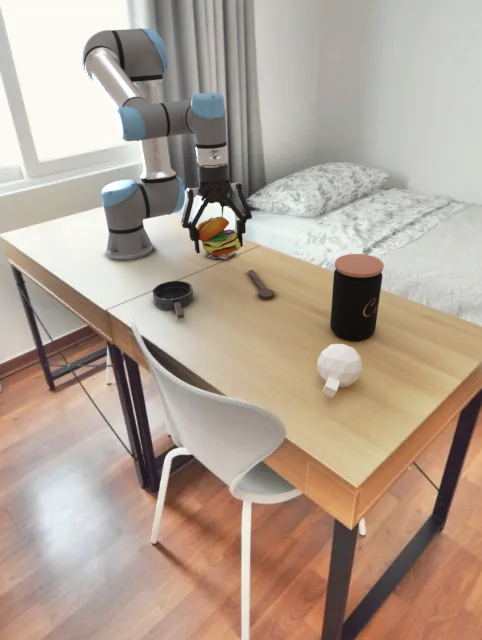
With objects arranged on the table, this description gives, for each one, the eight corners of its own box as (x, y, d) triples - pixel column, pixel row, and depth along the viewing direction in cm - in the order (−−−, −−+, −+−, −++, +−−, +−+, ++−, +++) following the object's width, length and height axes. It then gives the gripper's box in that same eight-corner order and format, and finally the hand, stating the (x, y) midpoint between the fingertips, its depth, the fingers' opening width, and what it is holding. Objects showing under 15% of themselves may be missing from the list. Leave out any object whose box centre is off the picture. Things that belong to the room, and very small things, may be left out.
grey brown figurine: (216, 247, 160) (211, 189, 149) (239, 255, 153) (236, 195, 142) (198, 254, 155) (192, 195, 144) (221, 263, 148) (216, 202, 137)
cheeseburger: (237, 258, 119) (225, 221, 114) (199, 265, 122) (187, 230, 117) (245, 242, 127) (234, 207, 122) (209, 249, 130) (198, 216, 125)
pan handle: (174, 311, 124) (173, 301, 122) (180, 310, 124) (179, 300, 122) (178, 325, 118) (177, 315, 116) (185, 324, 118) (183, 314, 116)
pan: (152, 295, 132) (150, 284, 130) (189, 289, 134) (188, 278, 132) (156, 314, 123) (154, 302, 121) (197, 307, 125) (196, 295, 123)
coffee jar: (365, 348, 106) (374, 278, 96) (322, 335, 111) (327, 267, 101) (380, 326, 113) (390, 258, 104) (339, 315, 118) (345, 250, 109)
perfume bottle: (318, 355, 101) (302, 394, 93) (332, 327, 95) (316, 366, 86) (355, 372, 100) (342, 413, 91) (372, 345, 93) (359, 387, 85)
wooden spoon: (243, 274, 141) (243, 271, 140) (257, 272, 142) (257, 268, 141) (261, 301, 126) (261, 297, 126) (276, 298, 127) (276, 294, 127)
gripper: (166, 173, 107) (177, 260, 118) (263, 162, 112) (265, 246, 123) (162, 166, 113) (173, 249, 124) (254, 155, 118) (256, 237, 129)
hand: (219, 248), depth 124 cm, fingers closed on cheeseburger, 11 cm apart
